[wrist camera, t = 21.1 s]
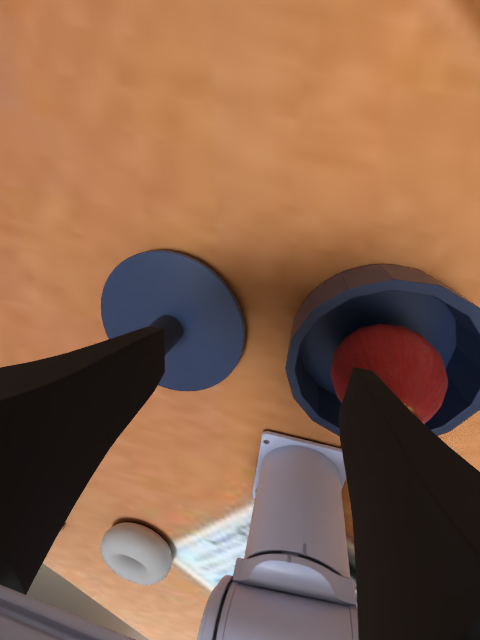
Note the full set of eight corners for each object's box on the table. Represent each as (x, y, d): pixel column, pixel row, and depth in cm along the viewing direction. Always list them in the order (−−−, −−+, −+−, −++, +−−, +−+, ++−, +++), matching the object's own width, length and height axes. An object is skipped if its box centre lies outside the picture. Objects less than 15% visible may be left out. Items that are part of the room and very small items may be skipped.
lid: (240, 396, 25) (226, 436, 20) (117, 368, 27) (82, 400, 23) (255, 260, 19) (240, 277, 15) (100, 238, 21) (51, 249, 17)
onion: (385, 390, 21) (424, 493, 13) (313, 358, 21) (315, 442, 14) (437, 327, 18) (522, 414, 11) (355, 291, 18) (383, 353, 11)
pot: (426, 418, 21) (449, 462, 18) (280, 387, 23) (275, 422, 20) (495, 277, 16) (546, 300, 13) (305, 253, 18) (304, 266, 15)
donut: (173, 568, 41) (179, 534, 36) (162, 599, 38) (167, 566, 33) (112, 543, 42) (110, 507, 37) (96, 571, 39) (92, 535, 34)
